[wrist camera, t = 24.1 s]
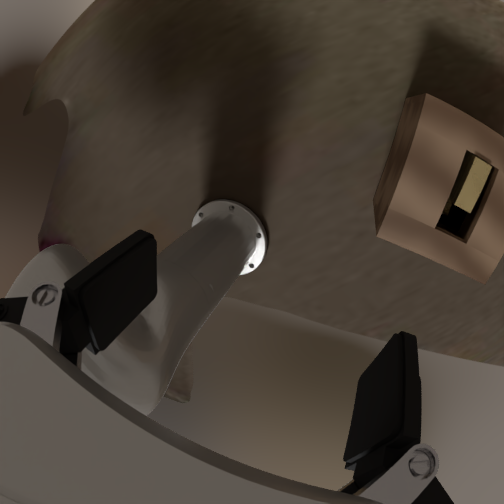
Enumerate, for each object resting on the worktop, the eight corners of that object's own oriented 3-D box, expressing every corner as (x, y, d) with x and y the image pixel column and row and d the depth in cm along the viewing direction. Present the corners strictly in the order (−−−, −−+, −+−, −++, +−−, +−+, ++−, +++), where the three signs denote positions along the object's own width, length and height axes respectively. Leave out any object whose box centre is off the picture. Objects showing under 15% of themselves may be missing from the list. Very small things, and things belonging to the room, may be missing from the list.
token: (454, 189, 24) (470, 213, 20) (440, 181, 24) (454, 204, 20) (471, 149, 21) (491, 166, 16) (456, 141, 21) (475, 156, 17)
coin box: (459, 239, 30) (485, 284, 21) (372, 200, 33) (376, 236, 24) (497, 147, 23) (540, 166, 14) (405, 98, 25) (426, 93, 17)
